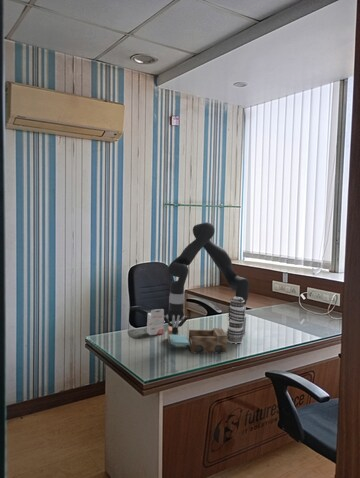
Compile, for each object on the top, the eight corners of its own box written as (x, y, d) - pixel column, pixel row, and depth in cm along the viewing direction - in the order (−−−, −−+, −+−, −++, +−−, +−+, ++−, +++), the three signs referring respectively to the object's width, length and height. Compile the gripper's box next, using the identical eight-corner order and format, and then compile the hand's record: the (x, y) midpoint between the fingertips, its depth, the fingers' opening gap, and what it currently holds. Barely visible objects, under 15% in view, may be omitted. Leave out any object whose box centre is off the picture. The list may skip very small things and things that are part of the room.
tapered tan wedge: (176, 338, 224) (177, 326, 224) (177, 343, 217) (178, 330, 217) (167, 338, 224) (168, 326, 223) (168, 343, 217) (169, 330, 216)
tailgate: (187, 334, 216) (169, 334, 215) (190, 343, 204) (171, 342, 203) (186, 337, 216) (168, 336, 215) (190, 345, 204) (171, 345, 203)
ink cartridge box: (159, 331, 235) (161, 306, 234) (163, 333, 231) (164, 308, 230) (146, 332, 232) (147, 307, 230) (149, 335, 227) (151, 310, 226)
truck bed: (220, 343, 220) (221, 327, 219) (226, 353, 206) (227, 336, 205) (187, 343, 218) (188, 327, 217) (191, 353, 204) (192, 335, 203)
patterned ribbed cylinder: (223, 339, 228) (226, 296, 225) (237, 338, 231) (240, 295, 229) (231, 344, 219) (234, 300, 217) (245, 343, 223) (249, 299, 220)
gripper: (188, 300, 212) (186, 331, 214) (163, 299, 210) (161, 331, 212) (190, 303, 205) (188, 336, 206) (164, 303, 203) (162, 336, 204)
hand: (174, 334), depth 209 cm, fingers closed
